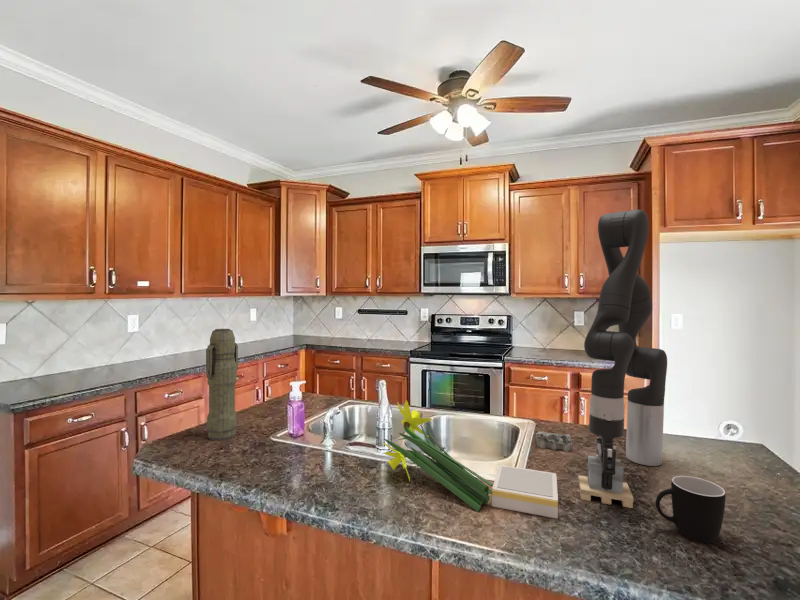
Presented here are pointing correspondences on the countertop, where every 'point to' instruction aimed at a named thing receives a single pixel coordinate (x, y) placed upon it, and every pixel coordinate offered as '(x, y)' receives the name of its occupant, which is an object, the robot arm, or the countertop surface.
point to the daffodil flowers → (438, 462)
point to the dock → (525, 491)
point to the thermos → (222, 384)
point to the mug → (695, 507)
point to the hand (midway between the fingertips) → (604, 481)
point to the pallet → (605, 494)
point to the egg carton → (553, 441)
